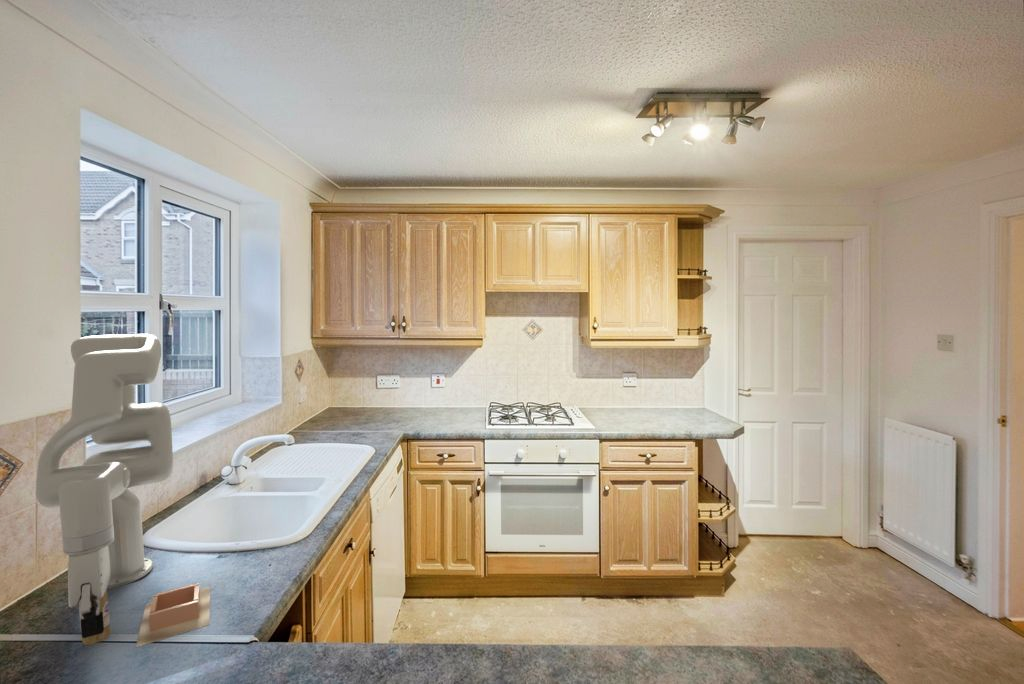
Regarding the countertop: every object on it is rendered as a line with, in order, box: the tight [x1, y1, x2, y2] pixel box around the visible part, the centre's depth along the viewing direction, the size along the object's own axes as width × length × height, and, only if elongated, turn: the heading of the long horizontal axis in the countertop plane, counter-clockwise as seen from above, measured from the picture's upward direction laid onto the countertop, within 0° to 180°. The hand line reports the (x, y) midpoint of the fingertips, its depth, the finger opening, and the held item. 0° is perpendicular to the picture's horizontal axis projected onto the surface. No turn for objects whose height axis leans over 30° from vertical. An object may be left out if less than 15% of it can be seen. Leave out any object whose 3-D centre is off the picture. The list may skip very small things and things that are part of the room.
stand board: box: [135, 586, 211, 648], centre depth 101 cm, size 16×12×1 cm
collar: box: [149, 582, 201, 632], centre depth 101 cm, size 8×8×4 cm
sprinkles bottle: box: [78, 588, 111, 646], centre depth 94 cm, size 5×5×13 cm
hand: (95, 626), depth 94 cm, fingers closed on sprinkles bottle, 4 cm apart
